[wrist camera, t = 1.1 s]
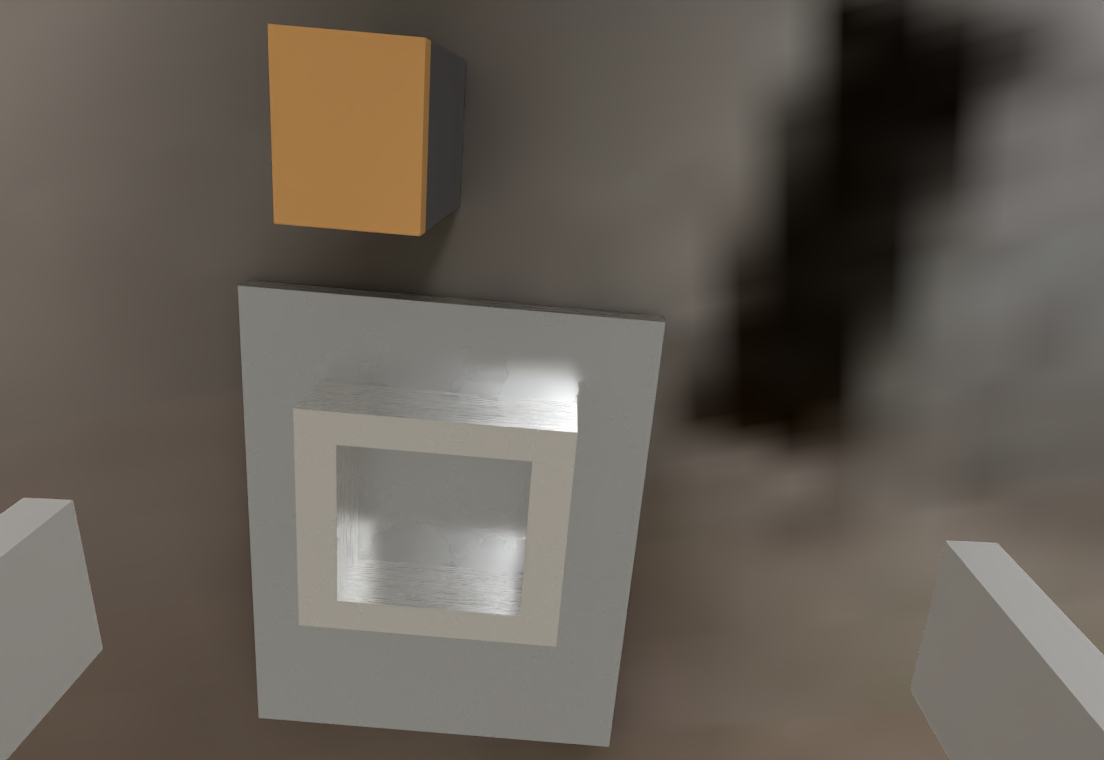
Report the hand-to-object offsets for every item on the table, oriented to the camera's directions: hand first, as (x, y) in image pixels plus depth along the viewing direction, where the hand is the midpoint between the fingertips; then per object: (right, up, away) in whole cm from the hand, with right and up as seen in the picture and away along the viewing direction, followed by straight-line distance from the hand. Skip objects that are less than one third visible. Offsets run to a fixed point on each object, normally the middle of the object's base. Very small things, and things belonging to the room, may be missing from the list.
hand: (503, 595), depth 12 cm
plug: (-5, +12, +16) cm, 21 cm away
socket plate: (-4, -3, +21) cm, 22 cm away
